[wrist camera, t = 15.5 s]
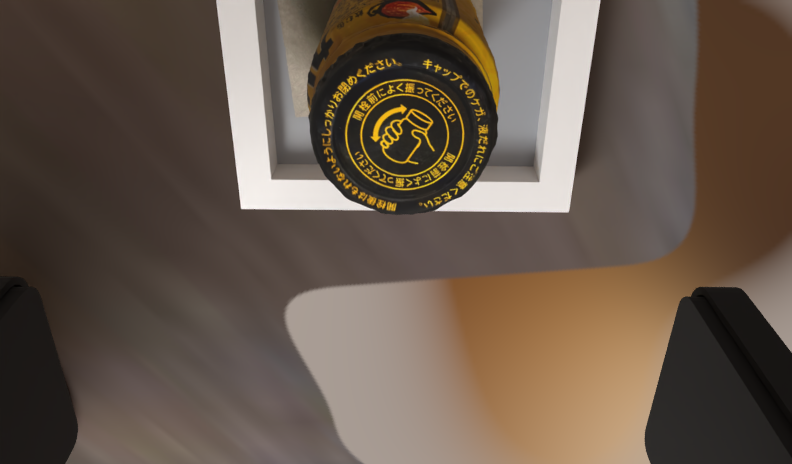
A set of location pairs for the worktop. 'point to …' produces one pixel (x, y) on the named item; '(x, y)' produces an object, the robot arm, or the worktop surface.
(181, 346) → the worktop surface
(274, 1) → the housing
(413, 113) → the condiment
